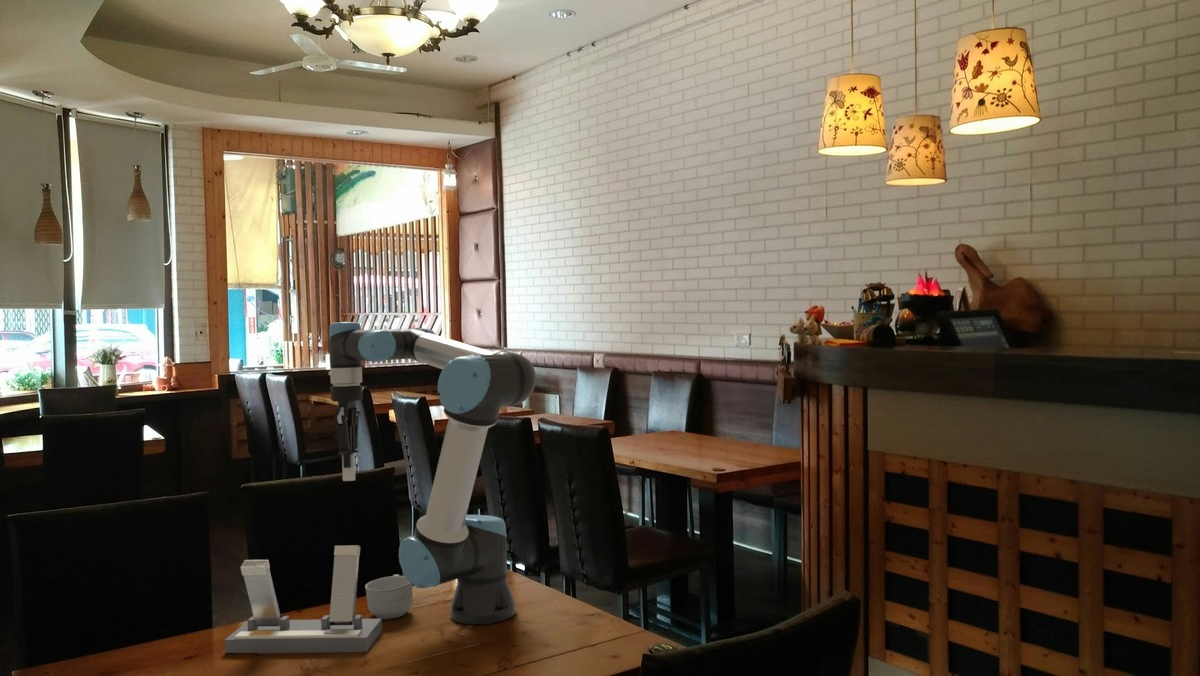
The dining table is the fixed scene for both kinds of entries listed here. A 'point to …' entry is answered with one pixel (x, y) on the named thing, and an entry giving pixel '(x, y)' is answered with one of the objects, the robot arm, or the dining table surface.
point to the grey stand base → (304, 636)
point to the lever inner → (344, 585)
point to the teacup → (389, 596)
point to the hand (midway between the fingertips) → (349, 480)
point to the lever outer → (261, 592)
